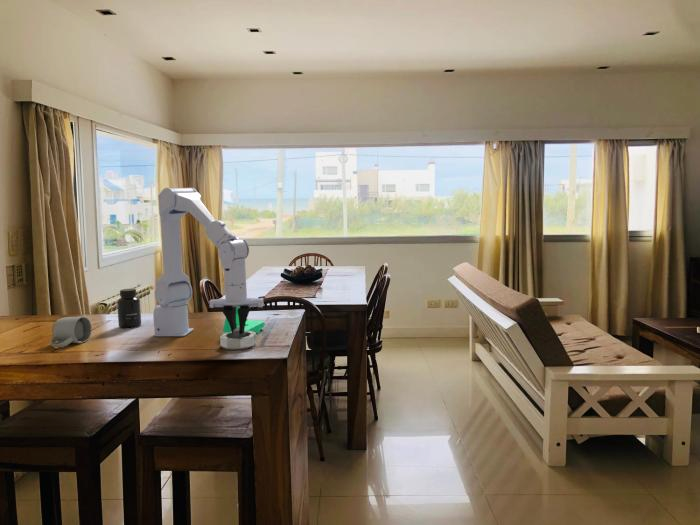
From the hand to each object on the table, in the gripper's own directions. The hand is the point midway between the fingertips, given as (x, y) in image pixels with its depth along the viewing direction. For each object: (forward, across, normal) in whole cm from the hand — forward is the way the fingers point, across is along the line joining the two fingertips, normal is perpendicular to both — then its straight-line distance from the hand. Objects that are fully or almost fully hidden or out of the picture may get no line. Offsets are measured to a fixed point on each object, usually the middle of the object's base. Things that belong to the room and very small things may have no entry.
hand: (238, 332), depth 150 cm
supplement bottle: (+4, -42, +22) cm, 48 cm away
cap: (+3, 0, 0) cm, 3 cm away
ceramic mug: (+4, -50, +2) cm, 51 cm away
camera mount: (+4, -2, +13) cm, 14 cm away
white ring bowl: (+4, 0, 0) cm, 4 cm away
